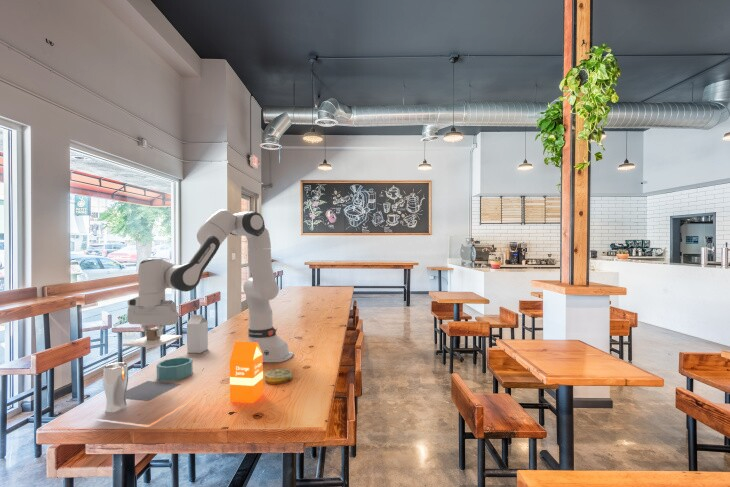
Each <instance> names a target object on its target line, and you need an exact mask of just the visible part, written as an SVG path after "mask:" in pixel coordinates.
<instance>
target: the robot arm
mask: <svg viewBox="0 0 730 487" xmlns="http://www.w3.org/2000/svg"><path fill="white" fill-rule="evenodd" d="M229 235H232V236H245V237H246V240H247V265H248V269H249V271H250V274H251V277H249V278H247V279H246V280H245V281H244V283H243V284H242V285H243V292H244V294H245V299H246V304H247V307H248V308H247V309H248V318H249V319H248V323H249V325H248V326H249V328H248V332H247V334H248V335H247V336H248V342H257V343H258V345H259V347H260V350H261V352H262V357H263V363H283V362H286V361H288V360H290V359H291V358H292V357H294V352H293V351H289V346H288V343H287V341H285V340H284V339H282V338H281V337H280V336H279V335H278V334H277V331H278V328H275V327H274V325H273V321H274V320H273V309H272V307H271V304H270V301H272V300H274V299H275V298H276V297H277V296H278V294H279V291H280V290H279V285H278V283H277V281H276V278H275V275H274V274H275V273H274V271H273V264H272V245H271V243H272V242H271V238H270V233H269V230H268V229H267V228H266V225H265V220H264V217H263V215H262V214H261V213H260V212H257V211H252V210H249V211H240V212H237V213H233V212H232V211H231V210H228V209H226V208H222V209H221V208H220V209H219V210H217V211H215V213H213V214H212V215H211V216H210V217H209V218H208V219H207V220H206V221H204V223H203V224H202V225H201V226H200V227H199V228H198V230H197V233H196V240H197V242H198V243H199V245H200V246H199V248H198V250H196V252H195V254H194V255H193V256H192V258H191V259H190V260H189V261H188V262H187V263H185V264H181V265H179V264H175V263H172V262H170V261H167V260H165V259H164V258H162V257H157V256H156V257H150V258H146V259H143V260H142V261H141V262H139V265H138V272H137V275H138V276H137V280H138V282H137V283H138V285H139V290H138V296H136V297H133V298H131V299H129V300H127V306H128V308H127V321H128V323H129V325H141V327H142V329H143V331H144V335H145V336H146V330H147V329H150V326H153V325H154V326H156V328H158V330H157V332H155V336H161V335H162V334H163V330H164V328H165V326H173V325H176V324H178V322H179V318H178V317H179V315H178V311H177V304H176V303H175V301H173V300H171V299H169V300H167V299H166V289H172V290H178V291H180V292H190V291H192V290H194V289H195V288H197V286H199V284H200V281H201V280H202V275H203V273H204V271H205V269H206V268H207V266H208V265H209V264H210V263H211V261H212V259H213V258H214V257H215V255H216V254H217V252H218V251H219V248H220V246H221V245H222V244H223V242H225V240H226V239H227V238H228V236H229ZM145 336H144V337H145Z"/></svg>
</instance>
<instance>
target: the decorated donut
mask: <svg viewBox="0 0 730 487" xmlns="http://www.w3.org/2000/svg"><path fill="white" fill-rule="evenodd" d="M291 378H293V372H292V370H290V369H287V368H274V369H271V370H268V371H266V372H265V374H264V380H265V381H266V383H267V384H271V385H278V384H285V383H286V382H289V380H290V379H291Z"/></svg>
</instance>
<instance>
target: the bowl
mask: <svg viewBox="0 0 730 487" xmlns="http://www.w3.org/2000/svg"><path fill="white" fill-rule="evenodd" d="M193 362H194V361H193V358H190V357H172V358H167V359H163V360H162V361H159V362H157V364H156V379H157V380H158V381H159V382H163V381H164V382H170V381H172V382H173V381H178V380H181V379H186V378H188V377H189V376H191V375H192V374H193V372H194V371H193V370H194V368H193V365H194V363H193Z"/></svg>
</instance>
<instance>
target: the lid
mask: <svg viewBox="0 0 730 487" xmlns="http://www.w3.org/2000/svg"><path fill="white" fill-rule="evenodd" d="M157 330H158V328H157V327H151V328H149V329H147V330H146V336H143V337H140V338H137V339H133V340H130V341H126V342H124V343H122V347H136V348H138V347H140V348H157V347H160V346H163V345H165V344H168V343H171V342H173V341H176V340H179V339H182V338H183V335H181V334H163V333H162V335H161V336H155V332H157Z"/></svg>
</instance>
